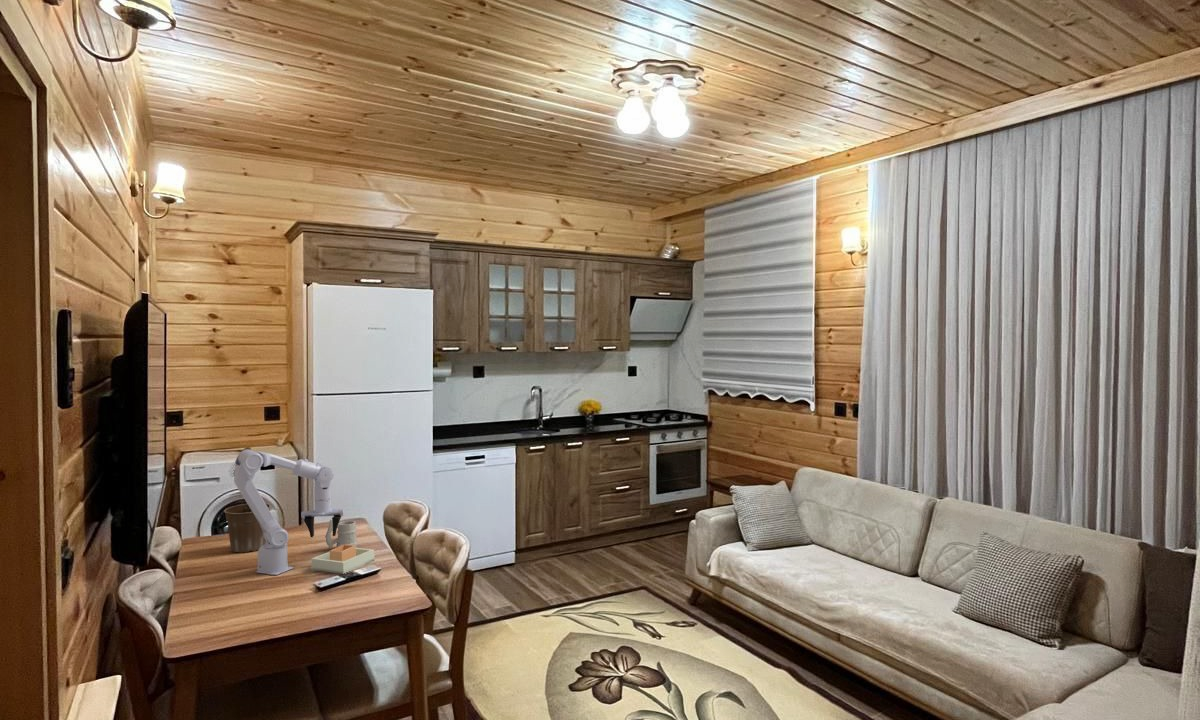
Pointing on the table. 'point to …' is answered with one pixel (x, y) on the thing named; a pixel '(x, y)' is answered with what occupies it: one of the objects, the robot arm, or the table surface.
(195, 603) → the table surface
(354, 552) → the box
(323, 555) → the big crate
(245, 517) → the plant pot
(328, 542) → the mug
